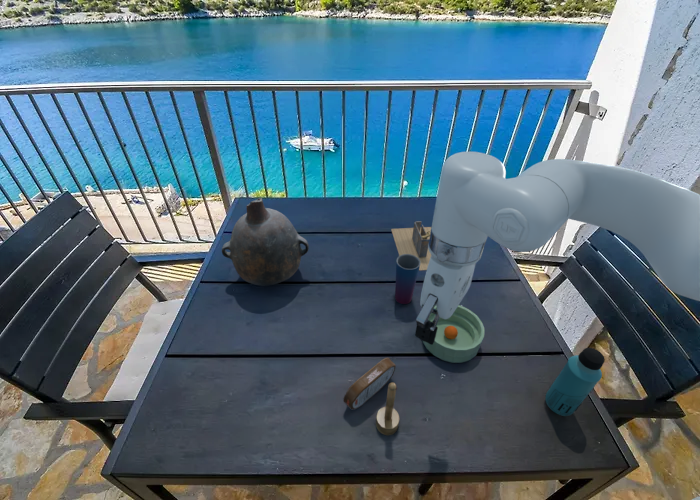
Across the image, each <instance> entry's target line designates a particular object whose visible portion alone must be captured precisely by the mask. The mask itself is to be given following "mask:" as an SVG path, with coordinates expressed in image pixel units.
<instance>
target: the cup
mask: <svg viewBox="0 0 700 500" xmlns="http://www.w3.org/2000/svg"><path fill="white" fill-rule="evenodd" d="M419 267H420V260H419V258H417V257H416V256H414V255H411V254H403V255H400V256H399V255H398V256H397V258H396V261H395V289H394V290H395V291H394V293H395V294H394V295H395V296H394V298H395V301H396V302H397V303H399V304H401V305H408V304H409V303H411V301H412V299H413V294H414V291H415V288H416V283H417V279H418V275H419V272H420V270H419Z"/></svg>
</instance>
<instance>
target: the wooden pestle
mask: <svg viewBox="0 0 700 500" xmlns="http://www.w3.org/2000/svg"><path fill="white" fill-rule="evenodd" d="M396 393H397V384H396V383H395V382H390V383H388V385H387V394H386V400H385V406H382V407H381V408H380V409H378V411H377V413H376V418H375V427H376V430H377V431H378V432H379V433H380V434H382V435H385V436H392V435H394V434H395V433H396V432H397V431H398V429H399V425H400V415H399V412H398V411H397V409H395V408H394V406H395V405H394V404H395V400H396Z"/></svg>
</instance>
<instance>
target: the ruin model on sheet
mask: <svg viewBox="0 0 700 500" xmlns="http://www.w3.org/2000/svg"><path fill="white" fill-rule="evenodd" d="M431 227H432V226H424V225H423V224H422V221H421V220H420V221H419V220H418V221H417V220H416V221H414V222H413V227H404V228H401V227H400V228H391V229H390V230H391V233H392V236H393V240H394V244H395V246H396V250H397V252H398V257H399V256H400V255H403V254H411V255H414V256H416V257H417V258H419V260H420V267H419V271H427V268H428V264H429V261H430V258H431V253H430V252H429V249H428V244H429V238H430V232H431Z"/></svg>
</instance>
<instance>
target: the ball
mask: <svg viewBox="0 0 700 500" xmlns="http://www.w3.org/2000/svg"><path fill="white" fill-rule="evenodd" d="M444 334H445V336H446V337H447V338H448V339H455V338H456V337H457V335H458V331H457V329H456V328H455V327H454V326H448V327H446V328H445V330H444Z"/></svg>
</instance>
